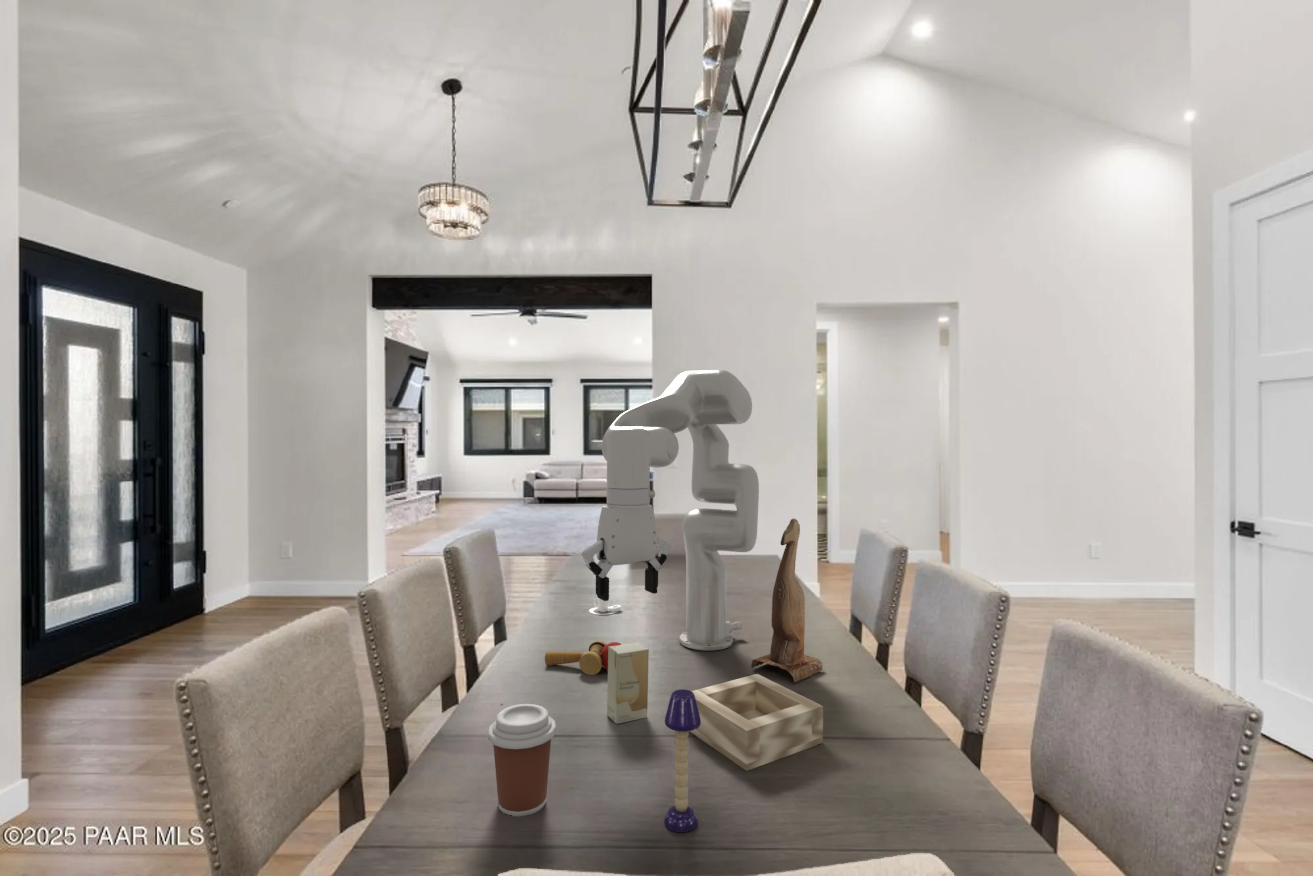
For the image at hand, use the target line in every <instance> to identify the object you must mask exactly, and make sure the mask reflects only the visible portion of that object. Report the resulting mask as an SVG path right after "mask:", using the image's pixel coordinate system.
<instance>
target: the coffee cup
mask: <svg viewBox="0 0 1313 876" xmlns="http://www.w3.org/2000/svg"><path fill="white" fill-rule="evenodd" d="M499 711H500V712H499V713H498V714H496V715H495V721H493V722H492V723H491V724H490V726H489V727H488V730H487V731H488V732H487V733H488V734H487V740H488V741H489V742H490V743H491V744H492V745H493V756H494V766H495V778H496V779H495V781H496V790H497V801H498V806H497V807H499V808H498V810H499V811H500V810H501V811H502V812H503V813H502V812H501V811H500V812H501V813H502V814H504V813H506V814H508V815H507V816H509V815H512V816H511V817H517V818H518V817H526V816H530V815H533V814H535V813H538V812H539V811H540V810H542V809H543V808H544V807H545V805H546V803H547V796H548V795H547V792H548V782H549V781H548V779H549V770H550V769H549V768H550V757H551V745H552V739H553V738H554V736H555V734H557V723H556V720H555V719H553V718H552V717H551V716H550V715H549V710H548V709H546V708H545V707H544V706H541V705H540V704H539V705H538V704H534V703H533V704H531V703H522V704H520V703H518V704H515V705H510V706H508V707H505V708H504V709H501V710H499ZM506 814H505V815H506Z"/></svg>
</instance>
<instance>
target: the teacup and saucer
mask: <svg viewBox="0 0 1313 876" xmlns="http://www.w3.org/2000/svg"><path fill="white" fill-rule="evenodd" d="M595 601H597V604H596V603H595ZM609 603H610V599H609V600H608V601H603V600H601V599H599V598H598V597H597V598H594V600H593V604H594V606H595V607H591V608H590V609H589V610H588V613H590V614H592V615H596V616H598V615H599V616H608V615H614V614H616V613H617V612H620V611H622V610H623V607H622V605H621V604H615V605H612V606H609ZM595 610H598V611H599V613H598V612H594V611H595ZM608 611H609V612H608ZM606 612H608V613H606Z"/></svg>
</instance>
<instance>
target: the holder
mask: <svg viewBox="0 0 1313 876" xmlns="http://www.w3.org/2000/svg"><path fill="white" fill-rule="evenodd" d="M691 691H692V692H693V693H694V695H695V698H696V702H697V707H698V711H699V715H700V720H701V724H700V726H699V727H698V728H697V729H695V730H692V731H689V732H690V733H691V734H693V735H694V736H696V737H697V738H698V739H699V740H702V741H703V742H705V743H706V744H707V745H708V746H710V747H711V748H713V749H714V750H716V751H717V752H719V753H720V754H722V755H723V756H725V757H726V758H727V759H728V760H730V761H732V763H734V764H736V765H737V766H739V767H740V768H741V769H743V770H745V772H746V771H750V770H753V769H756V768H759V767H761V766H763V765H764V766H765V765H767V764H770V763H772V762H775V761H777V760H780V759H783V758H785V757H789V756H791V755H794V754H797V753H799V752H802V751H805V750H807V749H810V748H813V747H815V746H818V744H819V745H821V744H824V706H823V705H821V704H820V703H818V702H815V701H814V700H811V699H809V698H808V697H806V696H803V695H801V694H799V693H797V692H796V691H793V690H792V689H789V688H787V687H785V686H783V685H781V684H779V683H777V682H775V681H772V680H771V679H769V678H766V677H765V676H762V675H761V674H758V673H755V674H752V675H748V676H744V677H740V678H736V679H732V680H728V681H726V682H722V683H717V684H713V685H710V686H706V687H702V688H699V689H695V690H694V689H693V690H691Z"/></svg>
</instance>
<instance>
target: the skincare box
mask: <svg viewBox="0 0 1313 876" xmlns="http://www.w3.org/2000/svg"><path fill="white" fill-rule="evenodd" d="M621 644H622V645H617V646H609V648H608V671H607V689H606V690H607V691H606V692H607V693H606V697H607V698H606V701H607V702H606V715H607V717H609V718H610V719H611V721H613V722H614V723H615V724H621V723H622V724H623V723H627V722H631V721H636V720H642V719H645V718H648V700H649V699H648V697H649V695H648V694H649V656H650V655H649V653H650V651H649V648H648V647H646V646H645V645H643V644H642V643H641V642H639V641H638V642H633V643H621Z"/></svg>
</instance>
